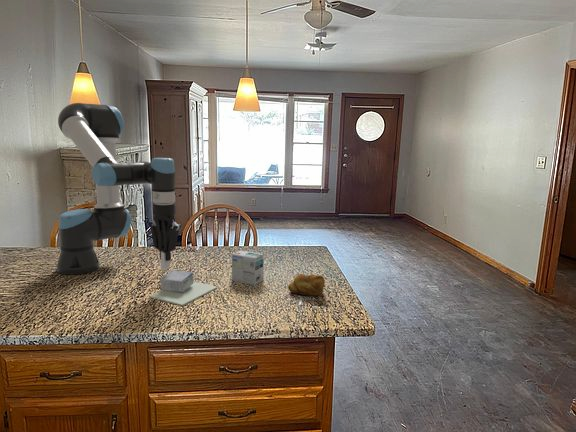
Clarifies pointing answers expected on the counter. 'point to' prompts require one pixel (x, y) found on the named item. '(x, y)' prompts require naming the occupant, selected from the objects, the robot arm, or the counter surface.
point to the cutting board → (184, 294)
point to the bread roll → (307, 285)
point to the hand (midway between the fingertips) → (165, 268)
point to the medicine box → (177, 281)
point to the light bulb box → (247, 267)
